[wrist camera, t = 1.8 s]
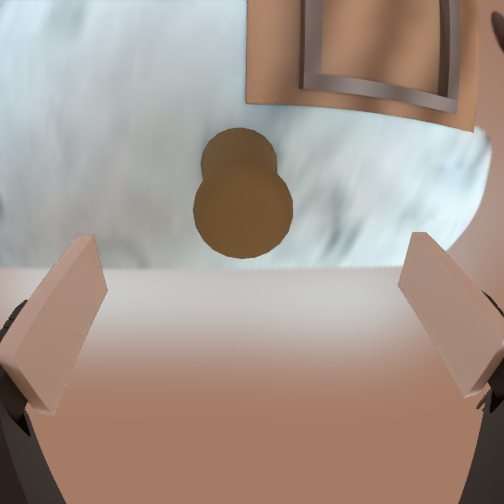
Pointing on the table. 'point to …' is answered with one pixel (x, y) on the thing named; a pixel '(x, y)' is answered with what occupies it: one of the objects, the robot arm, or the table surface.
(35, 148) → the table surface
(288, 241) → the table surface
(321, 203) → the table surface
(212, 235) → the brown tall rounded piece
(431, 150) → the table surface
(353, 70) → the board
